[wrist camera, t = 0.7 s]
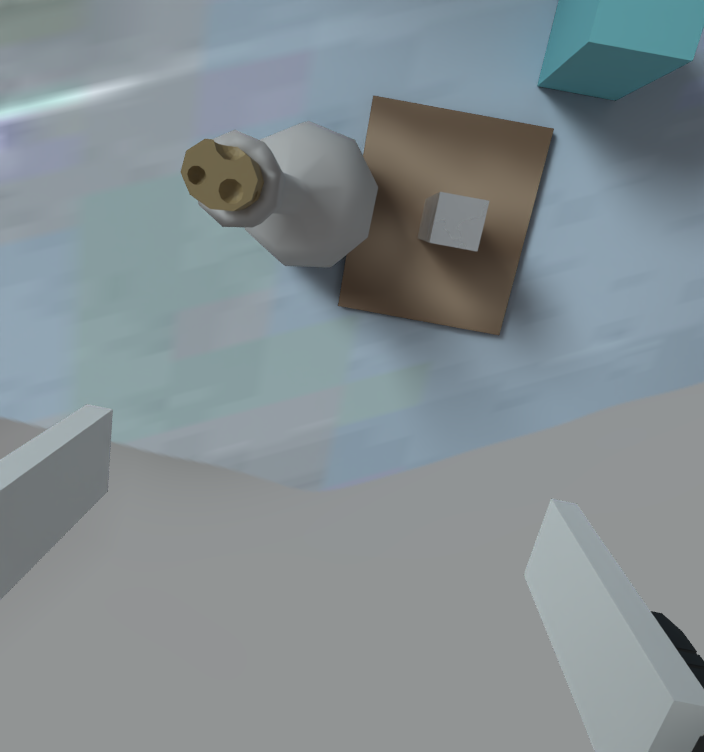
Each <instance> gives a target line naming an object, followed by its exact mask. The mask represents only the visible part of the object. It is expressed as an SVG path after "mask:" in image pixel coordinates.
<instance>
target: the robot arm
mask: <svg viewBox="0 0 704 752" xmlns="http://www.w3.org/2000/svg"><path fill="white" fill-rule="evenodd" d="M112 413H113V409H108V408H104V407H99V406H94V405H89V404H86V405H85V406H83V407H82V408H80V409H79V410H77V411H75V412H74V413H72V414H71V415H69V416H68V417H66V418H64V419H63V420H61V421H60V422H58V423H57V424H55V425H54V426H52V427H50V428H49V429H47V430H46V431H44V432H43V433H41V434H40V435H38V436H36V437H35V438H33V439H32V440H30V441H29V442H27V443H25V444H24V445H22V446H21V447H19V448H18V449H16V450H15V451H13V452H12V453H10V454H8V455H7V456H5V457H4V458H2V459H1V460H0V600H1V599H2V598H3V597H4V595H6V594H7V592H9V591H10V590H11V588H13V587H14V586H15V584H17V582H18V581H19V580H20V579H21V578H22V577H23V576H24V575H25V574H26V573H27V572H28V571H29V570H30V569H31V568H32V567H33V566H34V565H35V564H36V563H37V562H38V561H39V560H40V559H41V558H42V557H43V556H44V555H45V554H46V553H47V552H48V551H49V550H50V549H51V548H52V547H53V546H54V545H55V544H56V543H57V542H58V541H59V540H60V539H61V538H62V537H63V536H64V535H65V534H66V533H67V532H68V531H69V530H70V529H71V528H72V527H73V526H74V525H75V524H76V523H77V522H78V521H79V520H80V519H81V518H82V517H83V516H84V515H85V514H86V513H87V512H88V511H89V510H90V509H91V508H92V507H93V506H94V504H96V503H97V502H98V501H99V500H100V499H101V498H102V497H103V496H104V495H105V494H106V493H107V492H108V480H109V462H110V446H111V430H112ZM524 577H525V579H526V582H527V584H528V587H529V589H530V591H531V594H532V597H533V599H534V602H535V604H536V607H537V609H538V611H539V614H540V616H541V619H542V622H543V624H544V626H545V629H546V632H547V634H548V637H549V639H550V642H551V644H552V647H553V649H554V652H555V654H556V656H557V659H558V662H559V664H560V667H561V669H562V672H563V674H564V677H565V679H566V681H567V684H568V686H569V689H570V691H571V694H572V696H573V699H574V701H575V704H576V706H577V709H578V711H579V714H580V716H581V719H582V721H583V724H584V726H585V729H586V731H587V734H588V736H589V739H590V741H591V744H592V746H593V749H594V751H595V752H704V661H703V659H702V658H701V657H700V655H697V654H696V652H697V651H696V650H695V648H694V647H693V646H692V644H691V643H690V641H689V640H688V639H687V637H686V636H685V635H684V633H683V632H682V631H681V630H680V629H678V627H677V626H675V625H674V624H673V623H672V622H671V621H670V620H669V619H668V618H666V617H665V616H664V615H663V614H662V613H657V612H652V611H650V610H649V608H648V607H647V605H646V604H645V603H644V601H643V600H642V598H641V597H640V595H639V594H638V592H637V591H636V589H635V588H634V587H633V585H632V584H631V582H630V581H629V579H628V578H627V576H626V575H625V573H624V572H623V571H622V569H621V568H620V566H619V565H618V563H617V562H616V560H615V559H614V557H613V556H612V554H611V553H610V552H609V550H608V549H607V547H606V546H605V544H604V543H603V541H602V540H601V539H600V537H599V536H598V534H597V533H596V531H595V530H594V528H593V527H592V525H591V524H590V523H589V521H588V519H587V518H586V517H585V515H584V514H583V512H582V511H581V509H580V508H579V506H578V505H577V504H576V503H571V502H567V501H561V500H557V499H552V498H551V501H550V503H549V506H548V509H547V512H546V515H545V517H544V520H543V523H542V526H541V529H540V531H539V534H538V537H537V539H536V542H535V545H534V548H533V551H532V553H531V556H530V559H529V562H528V565H527V568H526V570H525V573H524Z"/></svg>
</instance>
